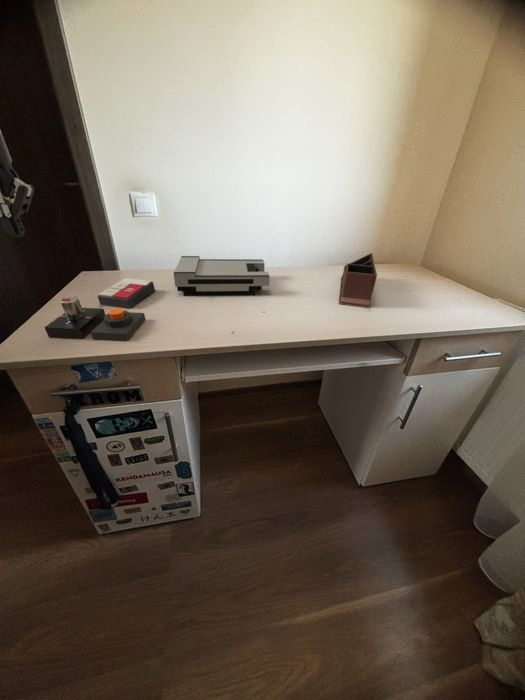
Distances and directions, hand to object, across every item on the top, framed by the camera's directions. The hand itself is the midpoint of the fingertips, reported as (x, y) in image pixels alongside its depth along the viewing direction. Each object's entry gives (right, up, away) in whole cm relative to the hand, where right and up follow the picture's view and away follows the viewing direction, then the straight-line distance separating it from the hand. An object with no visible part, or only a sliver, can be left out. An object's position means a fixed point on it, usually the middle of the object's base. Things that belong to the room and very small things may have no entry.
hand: (17, 236), depth 58 cm
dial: (0, -14, +18) cm, 23 cm away
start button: (+11, -15, +18) cm, 26 cm away
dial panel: (0, -17, +20) cm, 26 cm away
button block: (+11, -17, +20) cm, 29 cm away
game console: (+35, +1, +50) cm, 61 cm away
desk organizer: (+85, -1, +50) cm, 98 cm away
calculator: (+5, -6, +37) cm, 38 cm away
